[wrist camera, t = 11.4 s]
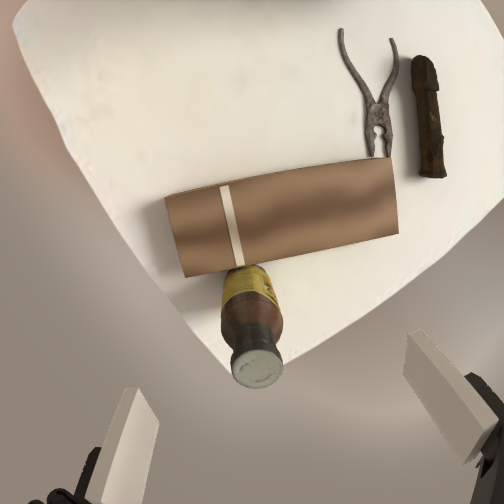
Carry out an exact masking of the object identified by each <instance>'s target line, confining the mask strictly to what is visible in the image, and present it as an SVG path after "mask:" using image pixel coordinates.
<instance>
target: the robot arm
mask: <svg viewBox="0 0 504 504" xmlns="http://www.w3.org/2000/svg"><path fill="white" fill-rule="evenodd" d="M403 375H404V377H405V378H406V379H407V381H408V382H409V384H410V385H411V387H412V388H413V390H414V391H415V393H416V394H417V396H418V398H419V399H420V400H421V402H422V404H423V405H424V407H425V408H426V410H427V411H428V413H429V415H430V416H431V418H432V419H433V421H434V422H435V424H436V425H437V427H438V429H439V430H440V432H441V434H442V435H443V437H444V438H445V440H446V442H447V443H448V445H449V447H450V448H451V450H452V452H453V453H454V455H455V456H456V458H457V460H458V462H459V463H460V465H461V466H463V465H465V464H466V463H468V462H470V461H471V460H473V459H475V458H476V456H477V455H478V453H479V452H480V451H481V452H482V454H483V456H482V458H481V459H480V461H479V462H478V463H477V465H476V468H478V467H479V465H480V469H479V473H478V477H477V481H476V485H475V488H474V492H473V495H472V499H471V502H470V504H504V403H503V402H502V401H501V400H500V398H499V397H498V396H497V395H496V394H495V393H494V392H492V389H491V388H490V387H489V386H487V384H486V383H485V381H484V380H483V379H482V378H481V377H479V376H478V375H476V374H474V373H472V372H471V373H469V374H468V375H466V376H463V375H462V374H461V373H460V371H458V369H457V368H456V367H455V366H454V365H453V364H452V363H451V361H450V360H449V359H448V358H447V357H446V356H445V355H444V353H442V351H441V350H440V349H439V348H438V347H437V346H436V345H435V344H434V342H433V341H432V340H431V339H430V338H429V337H428V336H427V335H426V334H425V333H424V332H423V331H422V330H421V329H418V330H416V331H413V332H410V333H408V335H407V346H406V355H405V364H404V371H403ZM158 427H159V421H158V420H157V418H156V416H155V415H154V413H153V412H152V410H151V408H150V407H149V405H148V403H147V402H146V400H145V398H144V397H143V395H142V393H141V392H140V390H139V388H125V390H124V392H123V395H122V397H121V400H120V402H119V405H118V408H117V410H116V412H115V415H114V417H113V420H112V422H111V425H110V427H109V430H108V433H107V436H106V438H105V441H104V443H103V446H102V447H95V448H94V449H93V450H92V451H91V453H90V454H89V455H88V458H87V461H86V465H85V466H84V468H83V472H82V474H81V477H80V479H79V482H78V485H77V487H76V490H75V493H74V496H73V495H72V494H71V493H69V492H68V491H67V490H65V489H62V488H58V489H54V490H53V491H52V492H50V494H49V495H48V497H47V504H142V500H143V494H144V490H145V485H146V480H147V475H148V470H149V466H150V462H151V457H152V453H153V448H154V444H155V440H156V435H157V431H158ZM28 504H44V503H43V502H41V501H40V500H32V501H30V502H29V503H28Z"/></svg>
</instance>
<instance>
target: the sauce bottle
mask: <svg viewBox="0 0 504 504" xmlns="http://www.w3.org/2000/svg"><path fill="white" fill-rule="evenodd" d="M282 329H283V318H282V314H281V311H280V308H279V305H278V301H277V299H276V295H275V293H274V290H273V287H272V284H271V281H270V278H269V276H268V275H267V274H266V272H265V270H264V269H263V268H262V267H260V266H258V265H256V264H253V265H248V266H243V267H238V268H233V269H230V270H229V272H228V274H227V276H226V279H225V282H224V287H223V297H222V309H221V333H222V336H223V338H224V340H225V342H226V343H227V344H228V345H229V346H230V347H231V348H232V349H233V354H232V357H231V362H230V364H231V371H232V375H233V378H234V379H235V380H236V381H237V382H238V383H239V384H240V385H242V386H245V387H247V388H251V389H260V388H266V387H268V386H270V385H272V384H273V383H275V382H276V381H277V380H278V379H279V377H280V376H281V374H282V371H283V362H282V358H281V354H280V352H279V351H278V349H277V348H276V343H277V342H278V341H279V339H280V336H281V333H282Z"/></svg>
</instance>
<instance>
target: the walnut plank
mask: <svg viewBox="0 0 504 504" xmlns="http://www.w3.org/2000/svg"><path fill="white" fill-rule="evenodd" d="M165 202H166V207H167V211H168V215H169V219H170V223H171V227H172V231H173V235H174V239H175V242H176V246H177V250H178V254H179V257H180V261H181V265H182V268H183V272H184V275H185V278H188V277H193V276H198V275H203V274H208V273H213V272H218V271H223V270H228V269H233V268H238V267H243V266H248V265H253V264H258V263H263V262H268V261H273V260H278V259H282V258H287V257H292V256H297V255H302V254H306V253H311V252H316V251H321V250H326V249H330V248H335V247H340V246H344V245H349V244H354V243H358V242H363V241H368V240H372V239H377V238H381V237H386V236H391V235H395V234H399V229H398V214H397V202H396V192H395V183H394V175H393V167H392V160H391V158H370V159H361V160H353V161H346V162H338V163H331V164H324V165H318V166H311V167H305V168H299V169H293V170H287V171H281V172H275V173H270V174H264V175H259V176H254V177H249V178H244V179H239V180H234V181H229V182H224V183H220V184H215V185H210V186H206V187H202V188H197V189H193V190H189V191H184V192H180V193H176V194H172V195H170V196H168V197H165Z"/></svg>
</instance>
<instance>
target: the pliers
mask: <svg viewBox="0 0 504 504" xmlns="http://www.w3.org/2000/svg"><path fill="white" fill-rule="evenodd" d="M390 41H391V44H392V47H393V51H394V67H393V71H392V73H391V75H390V77H389V79H388V81H387V83H386V85H385V87H384V89H383V91H382V94H381V97H380V101H379V104H376V102H375V100H374V98H373V96H372V94H371V92H370V90H369V88H368V87H367V85H366V83H365V82H364V80H363V79H362V78H361V76H360V75H359V73H358V72H357V71H356V69H355V68H354V66H353V65H352V63H351V61H350V59H349V57H348V55H347V52H346V49H345V45H344V30H343V28H341V29H340V31H339V44H340V50H341V53H342V57H343V59H344V61H345V63H346V65H347V67H348V69H349V70H350V72H351V74H352V75H353V77H354V78H355V80H356V82H357V83H358V85H359V87H360V89H361V90H362V93H363V95H364V98H365V101H366V108H367V118H366V128H365V135H366V139H367V143H368V148H369V152H370V156H371V157H374V151H375V145H374V139H375V138H376V136H377V134H376V133H375V132H374V129H373V128H374V127H375V126H377V125H378V124H380V126H381V127H384V129H385V134H383V138H384V140H385V141H386V146H385V149H386V154H387V158H389V157H391V148H392V138H393V134H392V126H391V120H390V116H389V104H388V98H389V94H390V91H391V89H392V86H393V84H394V81H395V79H396V76H397V73H398V69H399V57H398V51H397V47H396V44H395V42H394V40H393V38H390ZM373 104H374V105H373Z"/></svg>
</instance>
